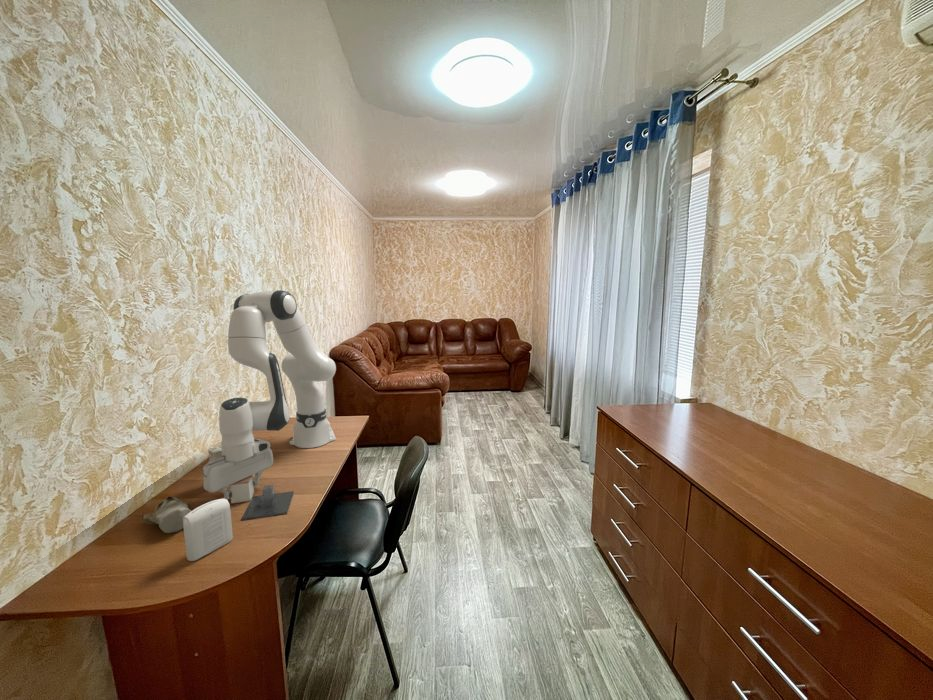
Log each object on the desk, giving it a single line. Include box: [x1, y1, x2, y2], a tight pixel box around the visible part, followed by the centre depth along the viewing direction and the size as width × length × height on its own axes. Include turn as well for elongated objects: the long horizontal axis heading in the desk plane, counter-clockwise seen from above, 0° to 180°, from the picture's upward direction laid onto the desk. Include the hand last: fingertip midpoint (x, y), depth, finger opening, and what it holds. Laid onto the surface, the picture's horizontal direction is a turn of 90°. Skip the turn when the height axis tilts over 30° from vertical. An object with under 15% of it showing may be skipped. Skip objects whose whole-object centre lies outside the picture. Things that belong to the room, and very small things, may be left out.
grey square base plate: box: [241, 484, 295, 521], centre depth 112 cm, size 12×12×6 cm
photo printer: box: [183, 498, 234, 562], centre depth 93 cm, size 10×4×12 cm, turn 152°
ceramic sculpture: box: [141, 496, 192, 534], centre depth 103 cm, size 11×9×15 cm
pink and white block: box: [229, 475, 255, 504], centre depth 116 cm, size 5×5×7 cm
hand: (242, 491), depth 116 cm, fingers open, 7 cm apart
